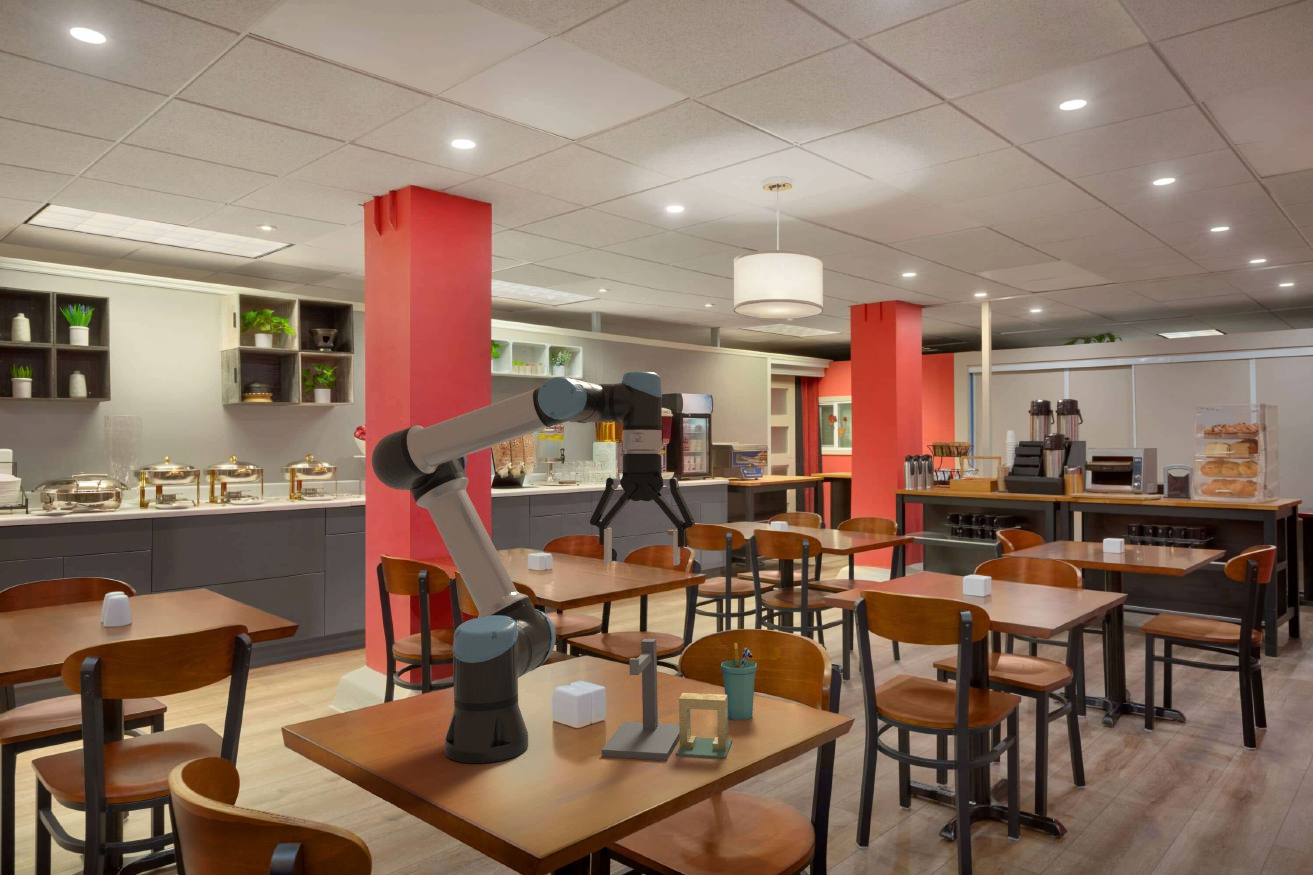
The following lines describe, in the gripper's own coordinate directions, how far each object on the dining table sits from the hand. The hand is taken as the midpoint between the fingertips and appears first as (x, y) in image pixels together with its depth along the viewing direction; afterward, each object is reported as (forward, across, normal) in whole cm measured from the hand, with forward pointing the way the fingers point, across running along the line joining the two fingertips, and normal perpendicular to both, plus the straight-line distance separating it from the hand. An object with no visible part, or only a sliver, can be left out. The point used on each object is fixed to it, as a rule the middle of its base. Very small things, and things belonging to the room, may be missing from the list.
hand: (641, 563), depth 159 cm
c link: (+32, +13, -4) cm, 35 cm away
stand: (+33, +1, -3) cm, 33 cm away
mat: (+33, +13, -4) cm, 35 cm away
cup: (+33, +17, +15) cm, 40 cm away
